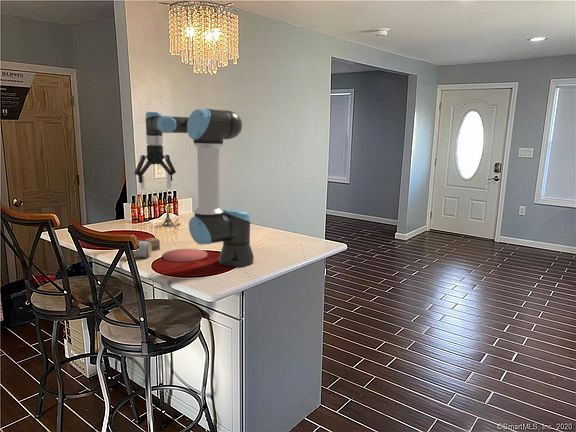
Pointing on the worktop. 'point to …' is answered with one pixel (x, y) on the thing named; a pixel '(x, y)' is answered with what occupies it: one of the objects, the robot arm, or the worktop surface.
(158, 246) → the walnut cube
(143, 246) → the light grey block
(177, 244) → the worktop surface
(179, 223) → the eiffel tower figurine
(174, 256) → the placemat
